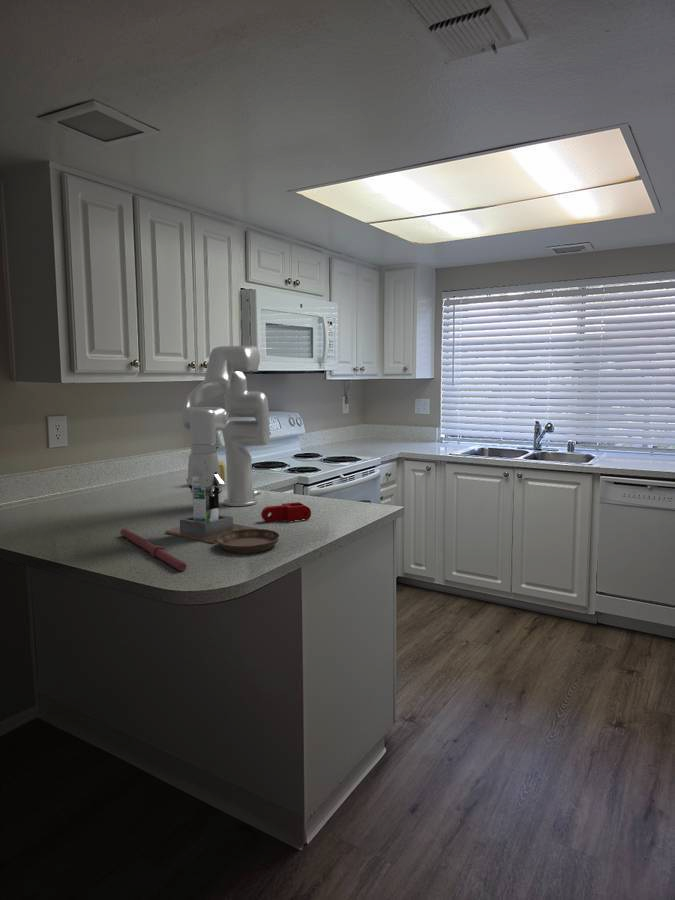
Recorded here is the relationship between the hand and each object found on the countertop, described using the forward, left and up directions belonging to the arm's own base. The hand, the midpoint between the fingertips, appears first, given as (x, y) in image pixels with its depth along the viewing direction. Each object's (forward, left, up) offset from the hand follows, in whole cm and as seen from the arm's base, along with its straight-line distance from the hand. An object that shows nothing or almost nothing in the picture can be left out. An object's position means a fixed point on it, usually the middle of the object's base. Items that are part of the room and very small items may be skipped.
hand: (205, 506), depth 191 cm
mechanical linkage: (-27, +8, -9) cm, 30 cm away
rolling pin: (+23, +2, -9) cm, 25 cm away
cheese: (-61, -64, -9) cm, 89 cm away
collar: (-2, 0, -8) cm, 9 cm away
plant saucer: (+3, +21, -9) cm, 23 cm away
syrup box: (0, 0, -5) cm, 5 cm away
